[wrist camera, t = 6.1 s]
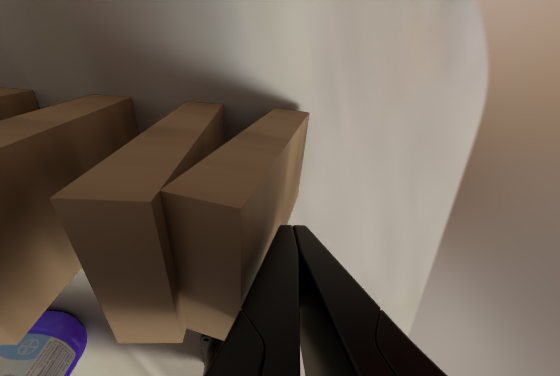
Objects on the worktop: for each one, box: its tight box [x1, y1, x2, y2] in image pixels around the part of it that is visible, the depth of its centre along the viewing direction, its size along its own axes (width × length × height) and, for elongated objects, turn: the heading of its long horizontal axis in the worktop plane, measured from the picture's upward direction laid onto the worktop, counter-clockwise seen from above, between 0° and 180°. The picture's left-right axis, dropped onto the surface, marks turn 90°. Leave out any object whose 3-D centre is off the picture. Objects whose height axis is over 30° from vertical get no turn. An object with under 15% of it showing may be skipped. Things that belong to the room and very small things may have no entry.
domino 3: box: [159, 108, 309, 341], centre depth 10 cm, size 5×2×9 cm, turn 175°
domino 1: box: [0, 95, 139, 345], centre depth 9 cm, size 5×2×9 cm, turn 175°
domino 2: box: [50, 101, 224, 343], centre depth 10 cm, size 5×2×9 cm, turn 175°
